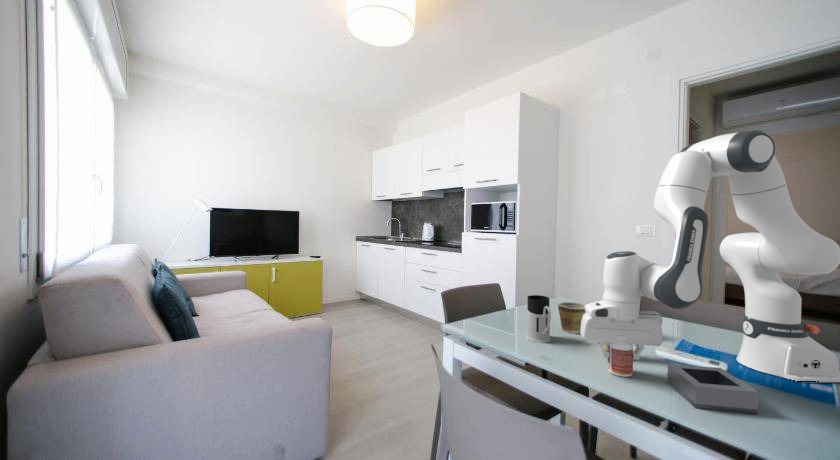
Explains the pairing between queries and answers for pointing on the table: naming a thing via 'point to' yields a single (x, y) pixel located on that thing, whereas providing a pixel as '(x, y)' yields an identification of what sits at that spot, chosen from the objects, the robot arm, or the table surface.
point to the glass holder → (538, 319)
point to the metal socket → (712, 389)
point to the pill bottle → (620, 357)
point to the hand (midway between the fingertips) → (619, 358)
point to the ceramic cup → (571, 316)
